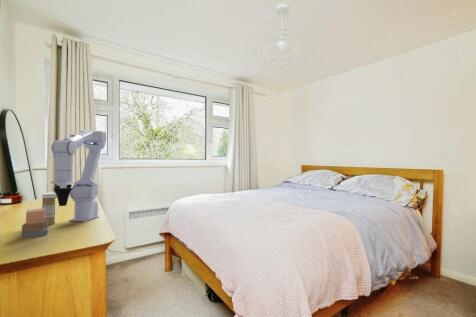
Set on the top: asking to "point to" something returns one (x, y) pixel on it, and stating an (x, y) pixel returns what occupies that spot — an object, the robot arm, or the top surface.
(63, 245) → the top surface
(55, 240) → the top surface
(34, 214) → the block
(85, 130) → the robot arm
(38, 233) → the tower base
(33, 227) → the tower top
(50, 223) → the sprinkles bottle
